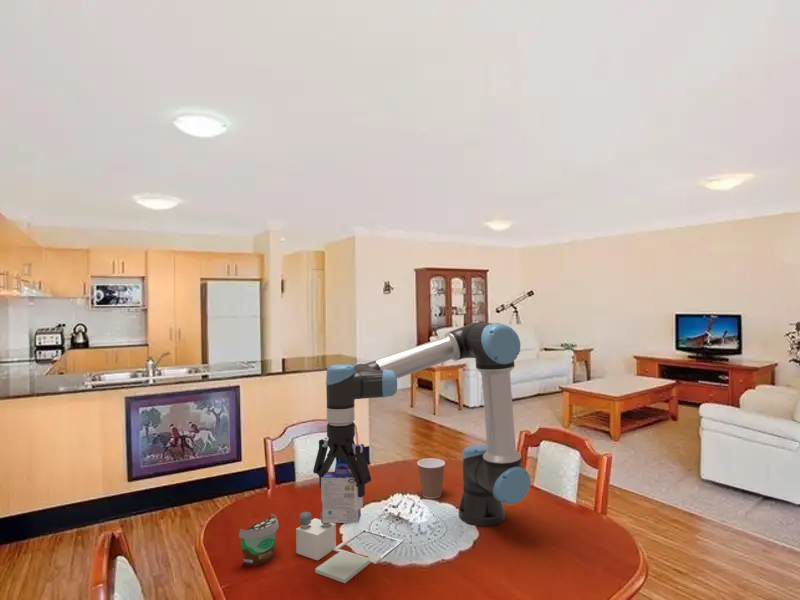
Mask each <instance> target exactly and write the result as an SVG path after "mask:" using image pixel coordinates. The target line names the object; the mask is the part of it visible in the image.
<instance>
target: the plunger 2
mask: <svg viewBox="0 0 800 600" xmlns="http://www.w3.org/2000/svg"><path fill="white" fill-rule="evenodd" d="M320 520H321V523H322V521H323V513H322V512H320ZM323 527H324V528H328V527H330V523H323Z"/></svg>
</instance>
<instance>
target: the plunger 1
mask: <svg viewBox="0 0 800 600" xmlns="http://www.w3.org/2000/svg"><path fill="white" fill-rule="evenodd" d="M311 520H312V513H311V512H310V511H303V512H301V513H300V514H299V524H300V526H302V529H308V528H309V524H310V523H311Z"/></svg>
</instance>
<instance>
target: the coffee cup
mask: <svg viewBox="0 0 800 600" xmlns="http://www.w3.org/2000/svg"><path fill="white" fill-rule="evenodd" d="M445 464H446V462H445V461H444V460H443V459H439V458H434V457H431V458H422V459H419V460H418V461H417V466H418V474H419V480H420V489H421V494H422V496H423V497H424V498H426V499H432V500H433V499H437V498H440V497H441V496H442V493H443V483H444V482H443V481H444V472H445V471H444V470H445V466H446V465H445Z"/></svg>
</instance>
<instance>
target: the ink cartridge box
mask: <svg viewBox="0 0 800 600" xmlns="http://www.w3.org/2000/svg"><path fill="white" fill-rule="evenodd" d="M334 467H335V468H334V471H328V472H325V474H324V476H323V477H322V502H321V503H322V504H321V505H322V508H321V509H322V513H323V521H322V523H334V524H340V523H341V524H342V523H343V524H351V523H354V524H355V523H356V524H357V523H359V522H360V520H361V519H360V518H361V516H362V514H361V511H362V510H361V509H362V508H361V509H359V510H357V511H356V510H354V485H356V484H357V483H356V481H355V479H354V477H353V475H352V473H351V470H349V466H348V464H347V463H341V462H340V463H337V462H336V463H335V466H334ZM339 467H345V468H342V469H341V468H339Z"/></svg>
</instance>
